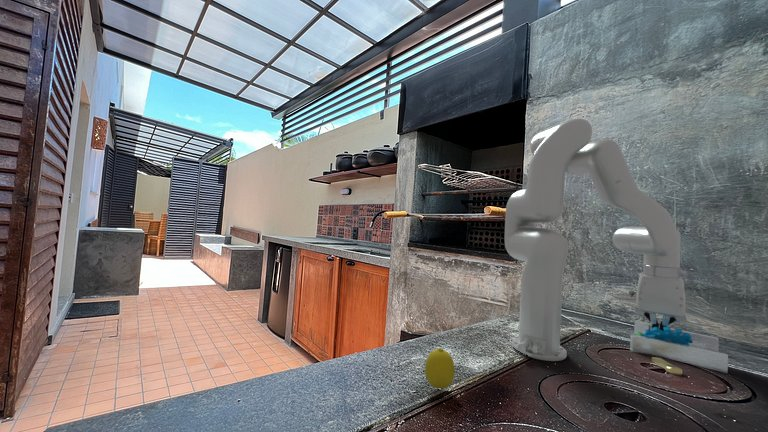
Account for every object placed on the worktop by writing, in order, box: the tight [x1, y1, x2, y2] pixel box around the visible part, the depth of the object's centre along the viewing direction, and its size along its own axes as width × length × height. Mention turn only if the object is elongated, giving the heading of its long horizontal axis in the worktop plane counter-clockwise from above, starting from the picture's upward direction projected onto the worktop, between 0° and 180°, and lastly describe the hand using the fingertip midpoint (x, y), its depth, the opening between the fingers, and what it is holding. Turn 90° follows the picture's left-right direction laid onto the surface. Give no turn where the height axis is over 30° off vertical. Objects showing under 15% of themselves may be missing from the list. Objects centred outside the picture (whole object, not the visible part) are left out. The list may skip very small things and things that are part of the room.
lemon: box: [424, 347, 456, 390], centre depth 59 cm, size 6×6×8 cm
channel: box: [629, 319, 729, 374], centre depth 83 cm, size 20×18×4 cm
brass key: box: [651, 356, 683, 376], centre depth 72 cm, size 7×3×1 cm, turn 173°
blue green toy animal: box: [636, 326, 693, 346], centre depth 81 cm, size 11×6×10 cm
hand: (658, 338), depth 85 cm, fingers closed
